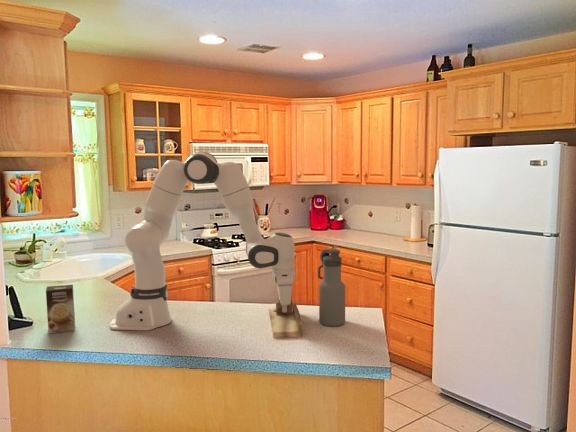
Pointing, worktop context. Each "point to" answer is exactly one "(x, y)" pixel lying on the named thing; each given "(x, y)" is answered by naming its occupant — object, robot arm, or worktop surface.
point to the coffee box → (60, 308)
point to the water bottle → (331, 289)
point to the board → (286, 323)
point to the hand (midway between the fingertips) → (283, 309)
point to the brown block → (279, 308)
